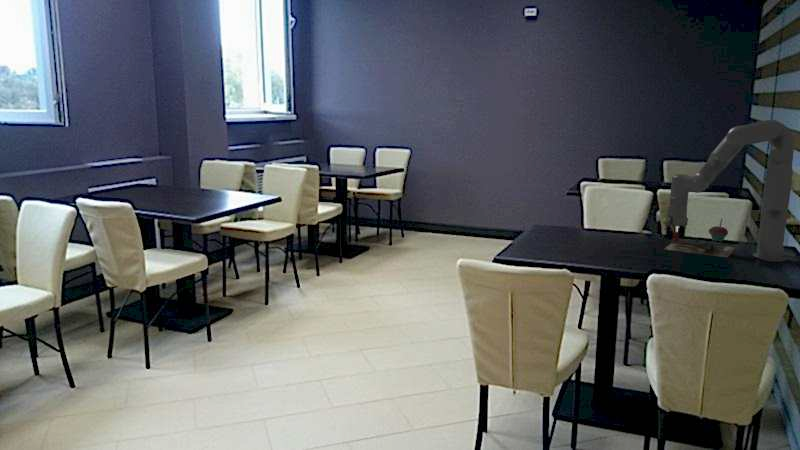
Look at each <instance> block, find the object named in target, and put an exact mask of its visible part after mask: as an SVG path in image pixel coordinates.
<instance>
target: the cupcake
mask: <svg viewBox="0 0 800 450" xmlns="http://www.w3.org/2000/svg"><path fill="white" fill-rule="evenodd" d="M722 223H723V218H721V219H720V221H719V225H718V226H712V227H711V228H709V229H708V233H709V234H710V236H711V240H712V241H713V240H714V241H713V242H716V241H719V242H718V243H722V242H724V240H725V238H726V237H727V235H728V234H729V230H728V229H726V227H723V226H722Z"/></svg>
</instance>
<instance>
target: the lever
mask: <svg viewBox="0 0 800 450" xmlns="http://www.w3.org/2000/svg"><path fill="white" fill-rule="evenodd" d="M678 235H679V232H678V231H673V239H670V240H671V243H672V244H679V245H687V246H695V247H701V245H702V244H704V242H702V243H701V242H699V243H695V241H694V242H693V241H685V240H679V236H678ZM706 243H707V244H709V245H710V246H711V249H710V250H713V249H716V250H724V249H725V245H719V244H713V243H712V244H711V243H710V242H706Z"/></svg>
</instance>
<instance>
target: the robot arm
mask: <svg viewBox="0 0 800 450" xmlns="http://www.w3.org/2000/svg"><path fill="white" fill-rule="evenodd" d="M764 142H769V146H770V147H769V158H768V165H767V168H766V170H765V174H764V175H765V177H764V183H763V192H762V193H763V194H762V205H761V214H760V222H759V230H758V235H757V244H756V252H754V253H752V256H753V257H757V258H756V260H761V261H763V262H773V263H774V262H776V263H777V262H778V263H779V262H780V263H782V262H786V260H787V258H792V259H794V258H795V253H794V252H793V253H792V252H788V251H787V252H786V251H784V250H785V249H784V242H785V234H786V227H787V220H788V211H789V206H790V199H791V189H792V182H793V175H794V174H793V172H794V171H793V160H794V150H795V139H794V136H793V134H792V131H791V130H790V128H788V127H787V126H786V125H785V124H784V123H782V122H780V121H778V120H776V119H766V120H762V121H759V122H758V121H757V122H753V123H748V124H744V125H737V126H733V127H732V128H730V129H729V131H728V132H727V134H726V135H725V137H724V138H722V140H721V141H720V143H718V145H717V146H716V147H715V149H713V151H711V153H710V155H709V157H708V159H707V161H706V162H705V163H704V164H703V166H702V167H701V168H700V169H699V170H698V172H697V173H696V174H695V175H692V176H689V175H687V174H680V173H679V174H673V175H672V177H671V184H670V185H671V186H670V194H669V195H670V196H669V205H668V208H667V211H666V216H665V221H664V225H665V226H664V227H665V231H666V232H665V239H667V240H671V239H673V232H674V228H675V227H677V232H679V235H678V237H682V238H684V237H686V236H685V234H686V228H687V225H688V221H689V218H688V203H689V201H688V200H689V192H692V193H699V194H700V193H702V192H704V191H706V190H707V188H709V186H710V185H711V184H712V183H713V182H714V181H715V179H716V178H718V176H719V175H720V174H721V173H722V172H723V170H724V169H726V168H727V167H728V165H729V164H730V163H731V162H732V161H733V159H734V158H735V157H736V156H737V155H738V153H740V151H741V150H742V149H743V148H744V147H745V146H748V145H749V146H750V145H755V144H759V143H764Z"/></svg>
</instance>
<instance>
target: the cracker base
mask: <svg viewBox="0 0 800 450" xmlns="http://www.w3.org/2000/svg"><path fill="white" fill-rule="evenodd" d="M699 241H700V240H699V239H697V238H696V239H694V242H695V243H700V242H699ZM724 246H725V245H724ZM735 249H736V247H735V246H727V245H726V246H725V249H724V250H716V249H713V250H710V251H709V252H705V250H704V249H701V247H695V246H687V245H679V244H672V242H671V243H670V244H668V245H667V246H666V247H664V250H668V251H674V252H683V253H691V254H699V255H706V256H715V257H720V258H729V257H730V256H731V254H732V253H733V252H734V250H735Z"/></svg>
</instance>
